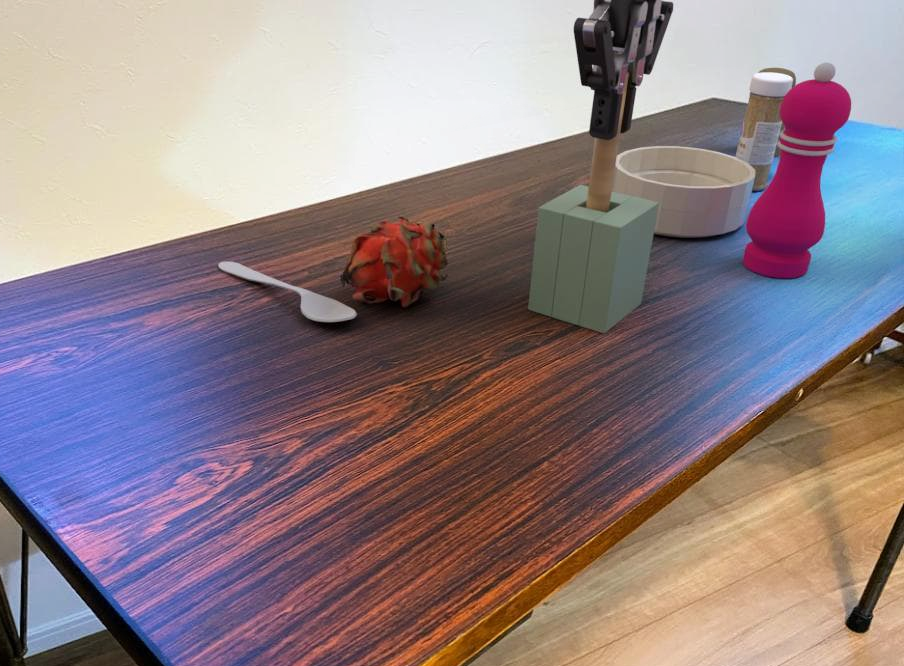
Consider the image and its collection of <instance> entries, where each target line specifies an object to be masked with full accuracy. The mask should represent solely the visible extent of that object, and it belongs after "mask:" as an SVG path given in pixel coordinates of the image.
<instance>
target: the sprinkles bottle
mask: <svg viewBox="0 0 904 666" xmlns="http://www.w3.org/2000/svg"><path fill="white" fill-rule="evenodd" d="M792 83H793V78H792V77H791V76H789V75H785V74H781V73H772V72H763V73H758V72H757V73H754V74H752V76H751V81H750V84H749V97H748V101H747V105H746V111H745V115H744V119H743V121H742V126H741V130H740V131H741V132H740V135H739V140H738V142H739V144H738V143H737V145H738V148H737V147H736V148H737V150H736V154H735V157H736V158H738V159H740V160H743V161H745V162H747V163H749V164H750V165H751V166H752V167H753V168H754V169H755V179H754V184H753V188H752V192H753V191H754V192H758V191H762V190H766V188H767V187H768V178H769V175H770V170H771V167H772V163H773V162H774V158H775V157H774V153H775V149H776V145H777V141H778V137H779V133H780V129H781V125H782V120H781V118H780V107H781V104H782V101H783V99H784V97H785V95H786V94H787V92H788V91H789V90H790V89H791V88H792Z"/></svg>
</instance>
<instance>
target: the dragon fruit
mask: <svg viewBox="0 0 904 666" xmlns="http://www.w3.org/2000/svg"><path fill="white" fill-rule="evenodd" d="M397 218H398V219H399V221H398V222H397V223H390V222H389V221H387V220H383V221H377V222H376V223H374V224H373V225H372V226H371V229H370V231H369V232H365V233H362V234H360V235H357V236H356V237H355V238H353V240H352V244H351V247H350V249H351V250H350V254H349V257H348V259H347V261H346V264H345V268H344V270H343V271H342V274H341V275H340V277H339V278H340V284H341V286H342V288H344V287H345V286H346V284H347V285H351V286H352V287H353V288H356V289H358V290H356V291H355V292H353V293H352V295H351V297H352V299H353V300H354V301H356V302H357V304H359V303H362V302H363V303H366V304H369V305H371V304H379V303H383V302H385V301H387V300H388V301H389V300H390V301H392V302H397V301H398V300H400V304H401V307H402V308H407V307H408V306H410V305H411V304H413V303H415V301H417V300H418V299H419V297H421V296H422V295H423V294H424V290H423V289H424V288H425V289H426V290H427V291H432V290H435V289H439V288H440V287H441V283H442V282H444V281H446V280H447V278H448V274H446V275H445V276H443V275H441V274H440V271H441V270H443V269H445V268H446V267H447V266H448V265H449V264H448V259H447V256H446V252H448V251H449V248H448V242H447V240H448V237H447V235H446V236H445V235H444V234H443V233H441V232H440V231H439V230H435V226H436V225H435V224H434V223H432V222H426V221H423V222H422V223H418V222H414V223H413V222H411V221H409V219H408V218H407V217H406V216H405V215H403V214H400V215H398V216H397Z"/></svg>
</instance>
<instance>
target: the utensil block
mask: <svg viewBox="0 0 904 666" xmlns="http://www.w3.org/2000/svg"><path fill="white" fill-rule="evenodd" d="M588 188H589V185H585V184H584V185H583V184H579V185H577V186H575V187H573V188H572V189H570V190H568V191H566V192H564V193H562V194H561V195H559V196H557V197H554V198H553V199H551V200H549V201H547V202H545V203H544V204H542V205H540V206H538V210H537V221H536V228H535V229H536V230H535V238H534V249H533V257H532V266H531V268H532V269H531V276H530V277H531V278H530V288H529V295H528V304H527V305H528V307H527V311H531V312H534V313H537V314H539V315H544V316H547V317H550V318H553V319H556V320H560V321H563V322H566V323H569V324H571V325H575V326H577V327H578V326H579V327H582V328H584V329H588V330H591V331H594V332H597V333H601V334H606V333H607V332H608V331H609V330H611V329H612V328H613V327H614V326H616V325H617V324H618V323H620V322H621V321H622V320H623V319H625V317H627V316H628V315H629V314H631V313H632V312H633V311H634V310H636V309H637V308H638V307H640V306H641V305H642V302H643V296H644V290H645V286H646V280H647V273H648V267H649V262H650V258H651V257H650V256H651V251H652V245H653V241H654V235H655V234H654V229H655V223H656V218H657V212H658V207H659V202H655V201H650V200H646V199H642V198H637V197H632V196H628V195H624V194H619V193H615V192H611V199H610V206H609V212H608V213H605V212H601V211H597V210H592V209H588V208H586V203H587V195H588Z"/></svg>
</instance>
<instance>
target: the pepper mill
mask: <svg viewBox="0 0 904 666" xmlns="http://www.w3.org/2000/svg"><path fill="white" fill-rule="evenodd" d="M835 75H836V67H835V66H834V64H832V63H831V62H822V63H820V64H818V65H817V66H816V67H815V68H814V71H813V78H814V79H808V80H807V79H806V80H804V81H801V82H799V83H796V84H795V86H794V87H792V88H791V89H790V90H789V91H788V92H787V94H786V95H785V97H784V99H783V101H782V104H781V107H780V118H781V120H782V122H783V124H784V126H785V130H782V131H781V132H780V140H779V141H778V143H777V145H778V147H779V148H780V149H781V153H780V156H779V161H778V164H777V167H776V171H775V173H774V175H773V177H772V179H771V181H770V183H769V184H767V187H766V188H765V189H764V191H763V192H762V193H761V194H760V196H759V197H758V199H756V201H755V202H754V203H753V206H752V207H751V209H750V211H749V213H748V216H747V219H746V222H745V230H746V233H747V235H748V237H749V238H750V240H751V241H750V242H748V243H747V244H746V245H745V248H744V252H743V256H742V264H743V266H744V267H745V268H746V269H747V270H748V271H750V272H753V273H754V274H755V273H756V274H758V275H760V276H765V277H767V278H774V279H795V278H800V277H802V276H804V275H805V274H807V272H808V270H809V266H810V263H811V260H812V253H811V252H810V251H809V249H811V248H813V247H814V246H816V245H817V244H819V242H820V241H821V240H822V239H823V236H824V235H825V227H826V210H825V207H824V206H825V205H824V201H823V196H822V189H821V178H822V173H823V168H824V165H825V163H826V159H827V158H828V155H831V154H833V152H834V151H835V143H837V141H838V138H837V136H836V135H835V134H836V133H837V132H838V131H839V130H841V128H843V127H844V126H845V124H846V123H847V122H848V121H849V118H850V116H851V112H852V99H851V98H852V97H851V95H850V93H849V92H848V90H847V89H846V88H845V87H844V86H843V85H841V83H839V82H836V81H833V79H834V78H835Z"/></svg>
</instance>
